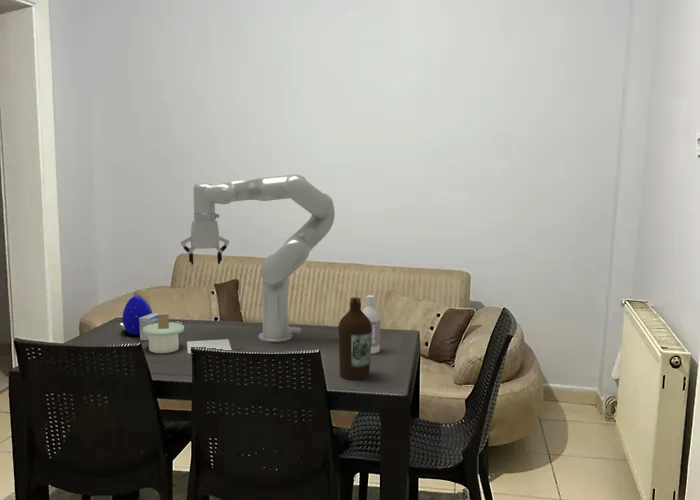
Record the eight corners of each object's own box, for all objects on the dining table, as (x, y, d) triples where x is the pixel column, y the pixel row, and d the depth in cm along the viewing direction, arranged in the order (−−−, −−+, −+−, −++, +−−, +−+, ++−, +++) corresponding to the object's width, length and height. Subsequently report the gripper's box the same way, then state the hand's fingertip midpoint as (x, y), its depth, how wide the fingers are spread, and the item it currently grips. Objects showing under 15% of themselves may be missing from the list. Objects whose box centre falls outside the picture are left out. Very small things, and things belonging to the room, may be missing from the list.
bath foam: (382, 353, 246) (383, 297, 243) (363, 354, 244) (363, 298, 241) (376, 347, 252) (377, 293, 249) (357, 349, 251) (358, 294, 248)
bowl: (178, 345, 253) (177, 326, 252) (178, 353, 243) (178, 333, 242) (149, 346, 250) (149, 327, 249) (149, 355, 241) (148, 335, 240)
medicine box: (150, 341, 258) (149, 318, 256) (139, 340, 259) (139, 317, 258) (162, 335, 265) (161, 313, 264) (152, 334, 266) (151, 312, 265)
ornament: (156, 331, 271) (155, 293, 268) (147, 338, 262) (145, 298, 259) (128, 330, 272) (127, 292, 270) (118, 337, 263) (117, 297, 260)
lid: (183, 324, 254) (183, 307, 253) (184, 334, 241) (184, 317, 240) (143, 326, 251) (142, 309, 250) (142, 337, 237) (141, 319, 237)
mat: (228, 340, 260) (228, 339, 260) (231, 352, 245) (231, 350, 245) (186, 342, 256) (186, 341, 256) (188, 354, 242) (188, 353, 242)
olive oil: (331, 372, 224) (332, 296, 221) (360, 368, 230) (361, 293, 226) (348, 382, 215) (349, 303, 211) (377, 377, 220) (378, 299, 217)
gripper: (227, 216, 261) (228, 261, 264) (180, 216, 257) (181, 262, 259) (229, 218, 254) (230, 264, 257) (180, 219, 250) (181, 266, 252)
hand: (205, 263), depth 258 cm, fingers open, 9 cm apart
